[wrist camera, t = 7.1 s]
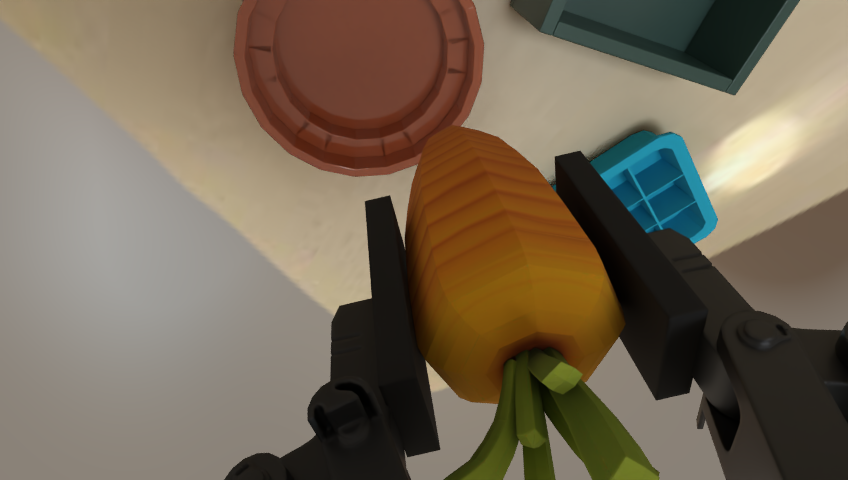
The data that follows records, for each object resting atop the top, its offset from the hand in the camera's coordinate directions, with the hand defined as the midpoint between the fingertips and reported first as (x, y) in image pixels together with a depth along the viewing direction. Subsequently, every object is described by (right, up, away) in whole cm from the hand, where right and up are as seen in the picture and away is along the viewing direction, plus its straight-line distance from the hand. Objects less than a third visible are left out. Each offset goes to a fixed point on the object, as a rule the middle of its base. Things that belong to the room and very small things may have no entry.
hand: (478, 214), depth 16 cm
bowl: (-6, +11, +17) cm, 21 cm away
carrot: (-1, +3, +5) cm, 6 cm away
